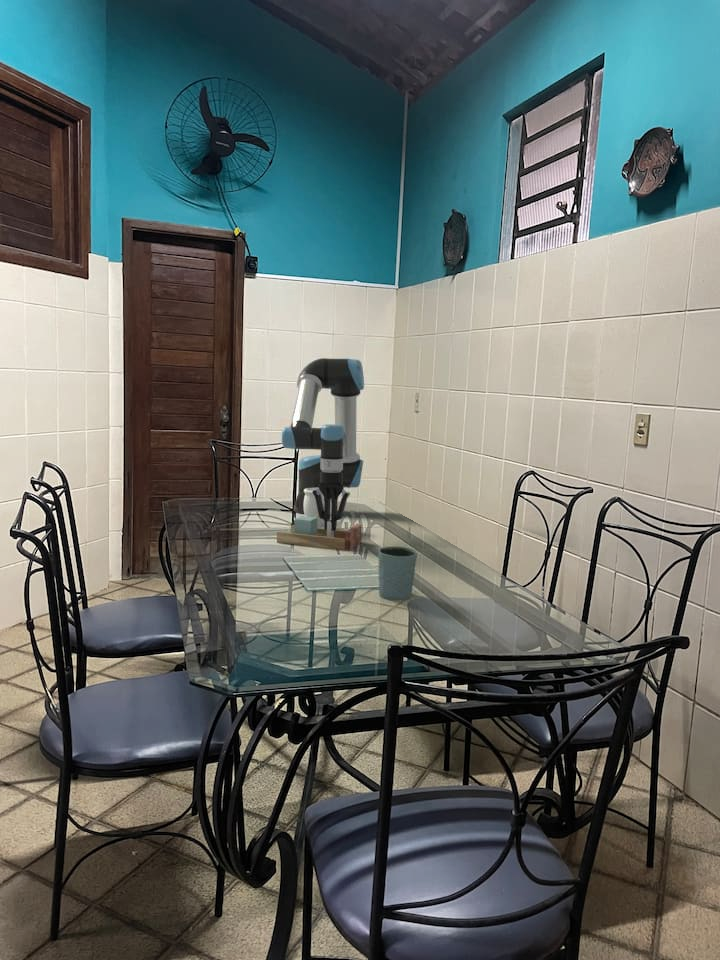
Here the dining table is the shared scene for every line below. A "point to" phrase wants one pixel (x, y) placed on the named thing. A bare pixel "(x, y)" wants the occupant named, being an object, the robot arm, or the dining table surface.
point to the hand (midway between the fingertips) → (330, 539)
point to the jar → (313, 506)
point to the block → (305, 525)
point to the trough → (323, 538)
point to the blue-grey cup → (396, 572)
